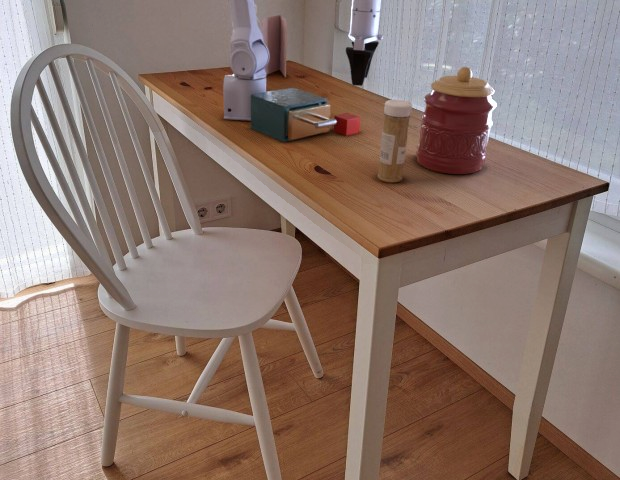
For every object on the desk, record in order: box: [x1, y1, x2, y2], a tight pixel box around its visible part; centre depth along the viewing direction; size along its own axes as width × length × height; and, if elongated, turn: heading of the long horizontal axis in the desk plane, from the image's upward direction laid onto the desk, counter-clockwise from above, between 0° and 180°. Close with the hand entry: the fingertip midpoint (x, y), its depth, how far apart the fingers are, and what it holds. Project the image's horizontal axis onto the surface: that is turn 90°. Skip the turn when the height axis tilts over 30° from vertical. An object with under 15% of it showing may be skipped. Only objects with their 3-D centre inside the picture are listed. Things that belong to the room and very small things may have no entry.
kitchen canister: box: [416, 66, 497, 175], centre depth 109 cm, size 13×13×18 cm
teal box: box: [250, 87, 328, 143], centre depth 125 cm, size 11×12×7 cm
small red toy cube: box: [332, 112, 361, 137], centre depth 127 cm, size 4×4×3 cm
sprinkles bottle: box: [377, 99, 413, 184], centre depth 102 cm, size 5×5×13 cm
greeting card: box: [261, 14, 288, 78], centre depth 170 cm, size 11×7×15 cm, turn 157°
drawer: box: [286, 103, 337, 141], centre depth 123 cm, size 15×10×6 cm
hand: (359, 81), depth 125 cm, fingers open, 7 cm apart
